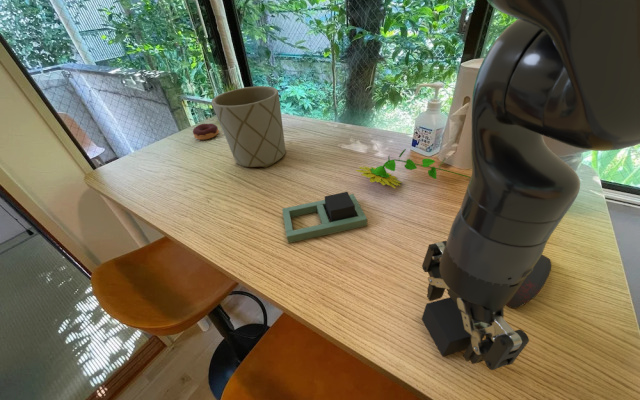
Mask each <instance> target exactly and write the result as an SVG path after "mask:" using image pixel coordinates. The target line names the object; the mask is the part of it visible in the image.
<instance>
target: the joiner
mask: <svg viewBox="0 0 640 400" xmlns="http://www.w3.org/2000/svg"><path fill="white" fill-rule="evenodd" d="M349 196H350V198H351V200H352V201H353V203H354V205H355V217H352V218H347V219H343V220H338V221H334V222H330V220H329V217H328V215H327V212H326V206H325V199H321V200H317V201H312V202H307V203H303V204H297V205H293V206H288V207H284V208H283V207H282V208H281V210H282V216H283V223H284V230H285V235H286V241H287V243H288V244H291V243H294V242H295V243H296V242H300V241H304V240H308V239H309V240H310V239H313V238H318V237H322V236H327V235H331V234H337V233H340V232H343V231H349V230H353V229H358V228H363V227H367V226H368V218H367V216H366V214H365V212H364V210H363V209H362V207H361V205H360V204H359V202H358V200H357V198H356V196H355V194H354V193H351V194H349ZM313 213H317V215H318V218H319V222H320V224H315V225H312V226H306V227H301V228H298V229H293V223H292V218H294V217H300V216H303V215H309V214H313Z"/></svg>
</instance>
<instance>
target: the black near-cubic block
mask: <svg viewBox="0 0 640 400" xmlns="http://www.w3.org/2000/svg"><path fill="white" fill-rule="evenodd" d="M349 195H350V194H349V192H348V191H344V192H339V193H334V194H330V195H325V196H324V200H325V206H326V210H325V212H326V214H327V217H328V220H329V222H334V221H338V220H343V219H347V218H352V217H355V205H354V203H353V201H352V200H351V198H350V196H349Z"/></svg>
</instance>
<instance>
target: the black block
mask: <svg viewBox="0 0 640 400" xmlns="http://www.w3.org/2000/svg"><path fill="white" fill-rule="evenodd" d="M421 321H422V322H423V325H424V326H425V329H426V330H427V332H428V334H429V335H430V337H431V339H432V341H433V343H434V344H435V347H436V348H437V349H438V351H439V354H440V355H441V357H446V356H449V355H452V354H455V353H459V352H462V351H466V349H467V348H468V346H469V345H470V344H471V339H470V334H469V333H467V332H466V331H465V329H464V324H463V319H462V314H461V312H460V311H459V309H458V307H457V305H456V304H455V302H454V301H453V300H452V299H451V298H450V296H449V297H446V298H443V299H442V298H441V299H437V300H433V301H430V302H428V303H426V304H425V307H424V310H423V313H422V317H421ZM473 322H474V324H475V323H479V322H480V321H476V320H473ZM485 337H486V336H485V335H482V336H481V337H480V339H481V340H484V339H485Z"/></svg>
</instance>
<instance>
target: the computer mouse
mask: <svg viewBox="0 0 640 400" xmlns="http://www.w3.org/2000/svg"><path fill="white" fill-rule="evenodd" d="M551 269H552V261H551V259H550V258H549V257H547V256H545V255H544V254H542V255H541V257H540V258H539V260H538V261H537V263H536V264H535V266H534V267H533V271H532V272H531V274H530V275H528V276H527V277H526V279H525V280H524V282H523V283H522V284H521V286H520V287H519V289H518V290H517V291H516V293H515V294H514V296H513V297H512V298H511V300H510V301H509V302H508V303H507V304H506V305H505V306H508V307H509V308H513V309H515V308H519V307H521V306H523V305H525V304H527V303H529V302H530V301H531V300H533V299H534V298H536V296H537V295H538V294H539V293H540V292H541V291H542V289H543V287H544V286H545V284H546V282H547V280H548V278H549V275H550V274H551Z"/></svg>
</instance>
